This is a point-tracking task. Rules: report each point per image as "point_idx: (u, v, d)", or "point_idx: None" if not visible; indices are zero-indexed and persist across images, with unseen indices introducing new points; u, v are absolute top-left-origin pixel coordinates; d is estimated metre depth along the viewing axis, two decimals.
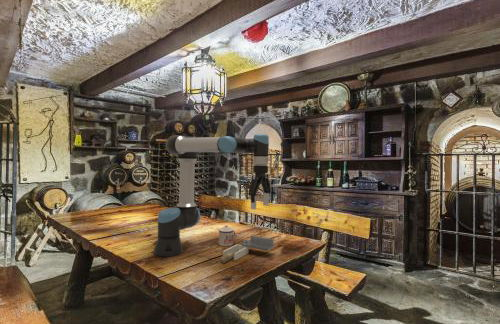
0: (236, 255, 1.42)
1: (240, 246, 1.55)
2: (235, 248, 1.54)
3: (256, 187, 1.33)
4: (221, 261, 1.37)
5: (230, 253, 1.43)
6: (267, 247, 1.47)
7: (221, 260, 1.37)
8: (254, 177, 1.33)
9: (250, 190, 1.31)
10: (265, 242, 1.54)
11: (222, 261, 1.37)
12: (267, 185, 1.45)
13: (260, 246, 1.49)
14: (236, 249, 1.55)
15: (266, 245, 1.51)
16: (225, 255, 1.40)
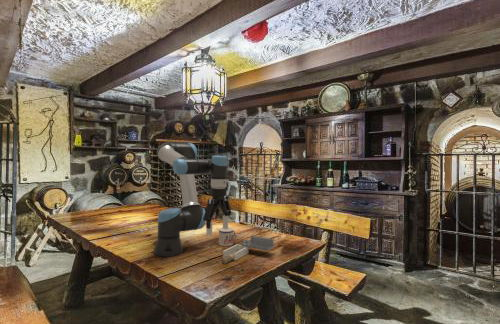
0: (236, 255, 1.42)
1: (240, 246, 1.55)
2: (235, 248, 1.54)
3: (212, 212, 1.27)
4: (222, 260, 1.37)
5: None
6: (267, 247, 1.47)
7: (223, 260, 1.37)
8: (210, 201, 1.26)
9: (205, 215, 1.24)
10: (265, 242, 1.54)
11: (224, 262, 1.36)
12: (227, 207, 1.39)
13: (260, 246, 1.49)
14: (236, 249, 1.55)
15: (266, 245, 1.51)
16: (229, 257, 1.39)
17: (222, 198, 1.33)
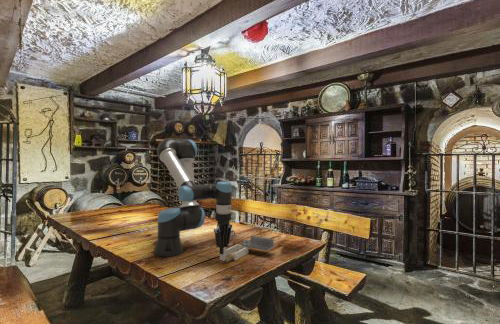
0: (236, 255, 1.42)
1: (240, 246, 1.55)
2: (235, 248, 1.54)
3: (222, 239, 1.36)
4: None
5: None
6: (267, 247, 1.47)
7: None
8: (216, 232, 1.32)
9: (217, 243, 1.34)
10: (265, 242, 1.54)
11: (225, 260, 1.38)
12: (227, 236, 1.40)
13: (260, 246, 1.49)
14: (236, 249, 1.55)
15: (266, 245, 1.51)
16: (230, 256, 1.40)
17: None
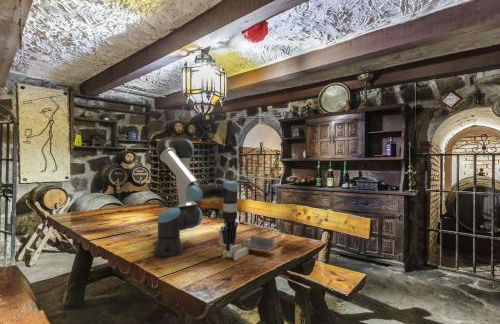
0: (236, 255, 1.42)
1: (240, 246, 1.55)
2: (235, 248, 1.54)
3: (228, 236, 1.41)
4: None
5: None
6: (267, 247, 1.47)
7: None
8: (223, 229, 1.37)
9: (224, 241, 1.39)
10: (265, 242, 1.54)
11: (232, 257, 1.43)
12: (233, 233, 1.45)
13: (260, 246, 1.49)
14: (236, 249, 1.55)
15: (266, 245, 1.51)
16: None
17: None
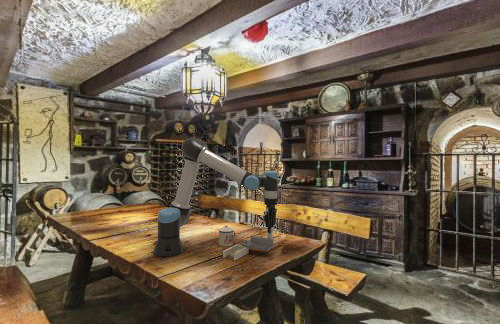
0: (236, 255, 1.42)
1: (240, 246, 1.55)
2: (235, 248, 1.54)
3: (270, 220, 1.58)
4: (229, 256, 1.43)
5: (239, 250, 1.49)
6: (267, 247, 1.47)
7: (230, 256, 1.43)
8: (266, 213, 1.55)
9: (266, 224, 1.57)
10: (265, 242, 1.54)
11: (231, 257, 1.43)
12: None
13: (260, 246, 1.49)
14: (236, 249, 1.55)
15: (266, 245, 1.51)
16: (235, 252, 1.45)
17: (274, 205, 1.61)
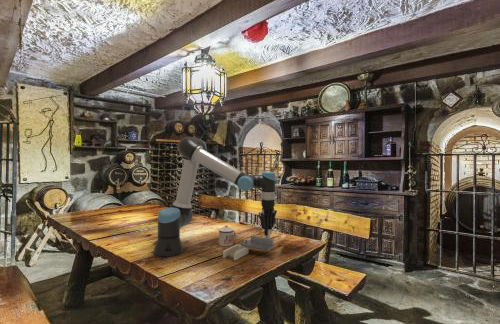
0: (236, 255, 1.42)
1: (240, 246, 1.55)
2: (235, 248, 1.54)
3: (266, 222, 1.53)
4: (230, 256, 1.43)
5: (239, 250, 1.49)
6: (267, 247, 1.47)
7: (230, 256, 1.43)
8: (260, 215, 1.51)
9: (262, 225, 1.53)
10: (265, 242, 1.54)
11: (231, 257, 1.43)
12: (272, 220, 1.57)
13: (260, 246, 1.49)
14: (236, 249, 1.55)
15: (266, 245, 1.51)
16: (235, 252, 1.45)
17: (272, 207, 1.56)
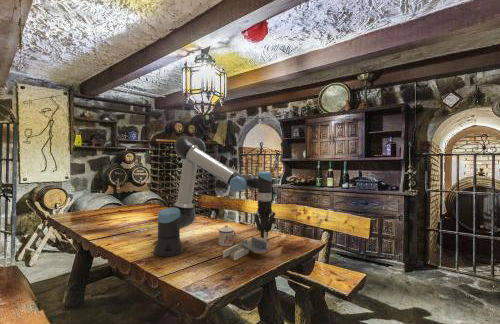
0: (236, 255, 1.42)
1: (240, 246, 1.55)
2: (235, 248, 1.54)
3: (262, 223, 1.48)
4: (230, 256, 1.43)
5: None
6: (257, 250, 1.43)
7: (230, 256, 1.43)
8: (255, 216, 1.47)
9: (257, 227, 1.49)
10: (261, 245, 1.49)
11: (231, 257, 1.43)
12: (270, 222, 1.51)
13: (252, 248, 1.46)
14: (236, 249, 1.55)
15: (260, 248, 1.46)
16: None
17: (269, 208, 1.50)
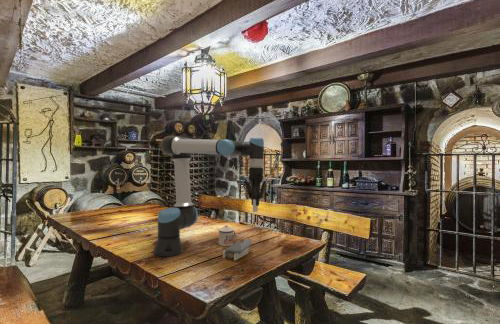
0: (236, 255, 1.42)
1: None
2: None
3: None
4: (229, 256, 1.44)
5: None
6: (230, 249, 1.43)
7: (229, 256, 1.44)
8: None
9: None
10: None
11: (230, 256, 1.43)
12: None
13: (232, 246, 1.47)
14: None
15: (236, 248, 1.44)
16: None
17: (259, 176, 1.43)
